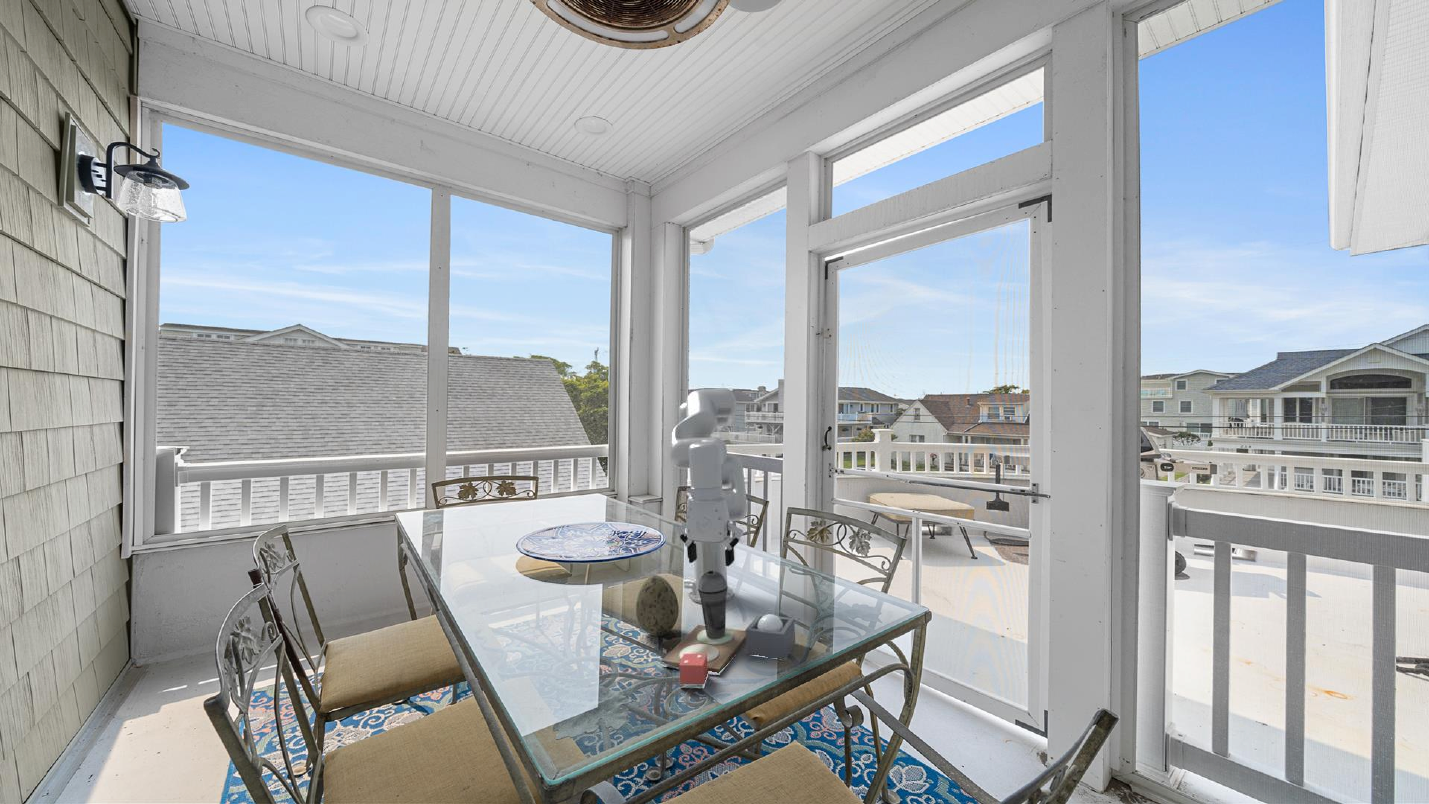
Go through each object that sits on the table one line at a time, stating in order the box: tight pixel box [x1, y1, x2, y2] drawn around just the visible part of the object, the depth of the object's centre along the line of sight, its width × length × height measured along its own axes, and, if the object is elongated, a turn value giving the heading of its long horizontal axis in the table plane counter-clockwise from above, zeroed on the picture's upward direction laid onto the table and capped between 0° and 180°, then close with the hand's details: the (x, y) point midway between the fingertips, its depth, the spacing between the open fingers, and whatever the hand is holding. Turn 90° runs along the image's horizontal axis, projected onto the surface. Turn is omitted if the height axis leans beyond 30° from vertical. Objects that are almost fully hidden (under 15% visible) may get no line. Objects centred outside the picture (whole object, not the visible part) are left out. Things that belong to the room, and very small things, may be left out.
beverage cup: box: [698, 553, 729, 639], centre depth 141 cm, size 7×7×20 cm
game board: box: [661, 624, 746, 673], centre depth 136 cm, size 14×20×2 cm
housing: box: [745, 613, 796, 661], centre depth 136 cm, size 9×9×6 cm
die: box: [679, 654, 709, 685], centre depth 123 cm, size 5×5×5 cm
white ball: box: [758, 613, 783, 632], centre depth 136 cm, size 6×6×6 cm
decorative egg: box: [635, 574, 680, 637], centre depth 147 cm, size 11×11×15 cm
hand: (711, 562), depth 141 cm, fingers open, 9 cm apart
